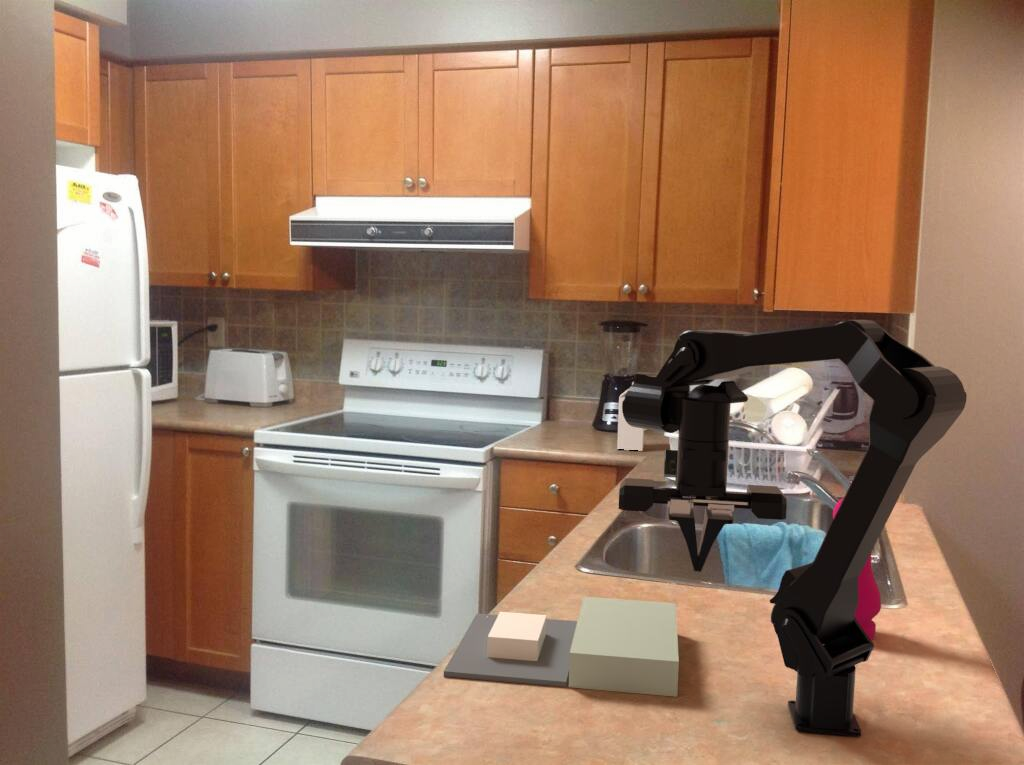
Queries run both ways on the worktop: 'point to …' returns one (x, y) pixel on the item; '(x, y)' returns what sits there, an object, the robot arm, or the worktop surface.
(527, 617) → the tilted white rectangular prism
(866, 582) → the pepper mill
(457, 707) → the worktop surface
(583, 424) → the worktop surface
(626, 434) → the milk carton
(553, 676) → the mat
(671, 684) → the block
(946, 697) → the worktop surface
